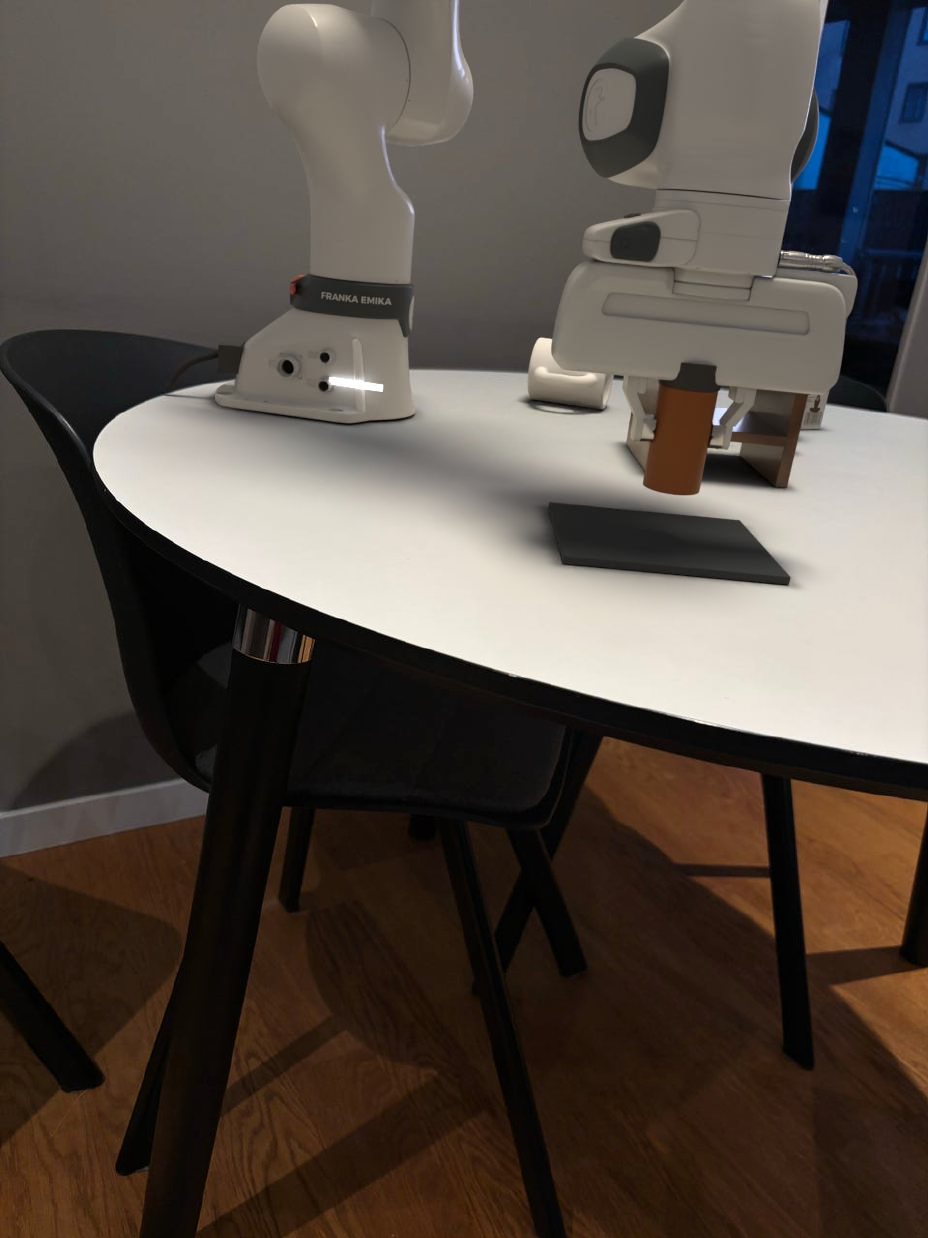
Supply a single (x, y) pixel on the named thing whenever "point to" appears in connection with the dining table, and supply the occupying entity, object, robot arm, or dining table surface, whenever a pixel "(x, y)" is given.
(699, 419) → the spice bottle
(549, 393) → the mug
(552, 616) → the dining table surface
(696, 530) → the mat
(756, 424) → the shelf
